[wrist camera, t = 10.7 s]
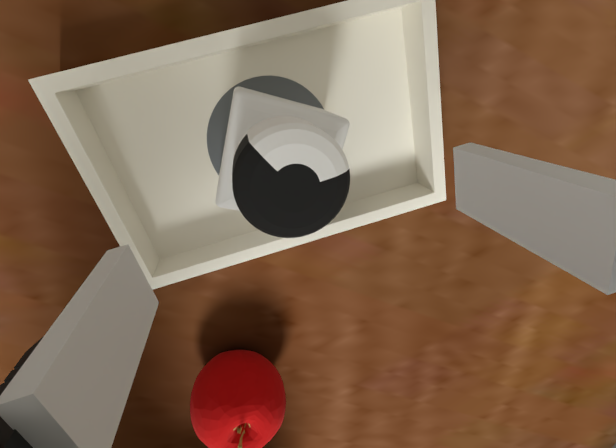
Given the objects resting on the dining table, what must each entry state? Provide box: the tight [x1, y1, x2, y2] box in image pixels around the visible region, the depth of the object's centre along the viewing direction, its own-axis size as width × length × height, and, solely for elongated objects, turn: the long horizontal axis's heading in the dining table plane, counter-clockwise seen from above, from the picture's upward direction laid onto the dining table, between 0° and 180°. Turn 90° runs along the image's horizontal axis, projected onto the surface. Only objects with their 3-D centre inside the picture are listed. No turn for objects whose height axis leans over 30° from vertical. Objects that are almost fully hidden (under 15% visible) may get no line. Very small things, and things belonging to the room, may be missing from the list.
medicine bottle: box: [215, 86, 350, 238], centre depth 22 cm, size 7×7×12 cm
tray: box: [28, 0, 446, 290], centre depth 26 cm, size 26×16×4 cm, turn 103°
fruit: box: [190, 350, 286, 448], centre depth 33 cm, size 9×9×10 cm
